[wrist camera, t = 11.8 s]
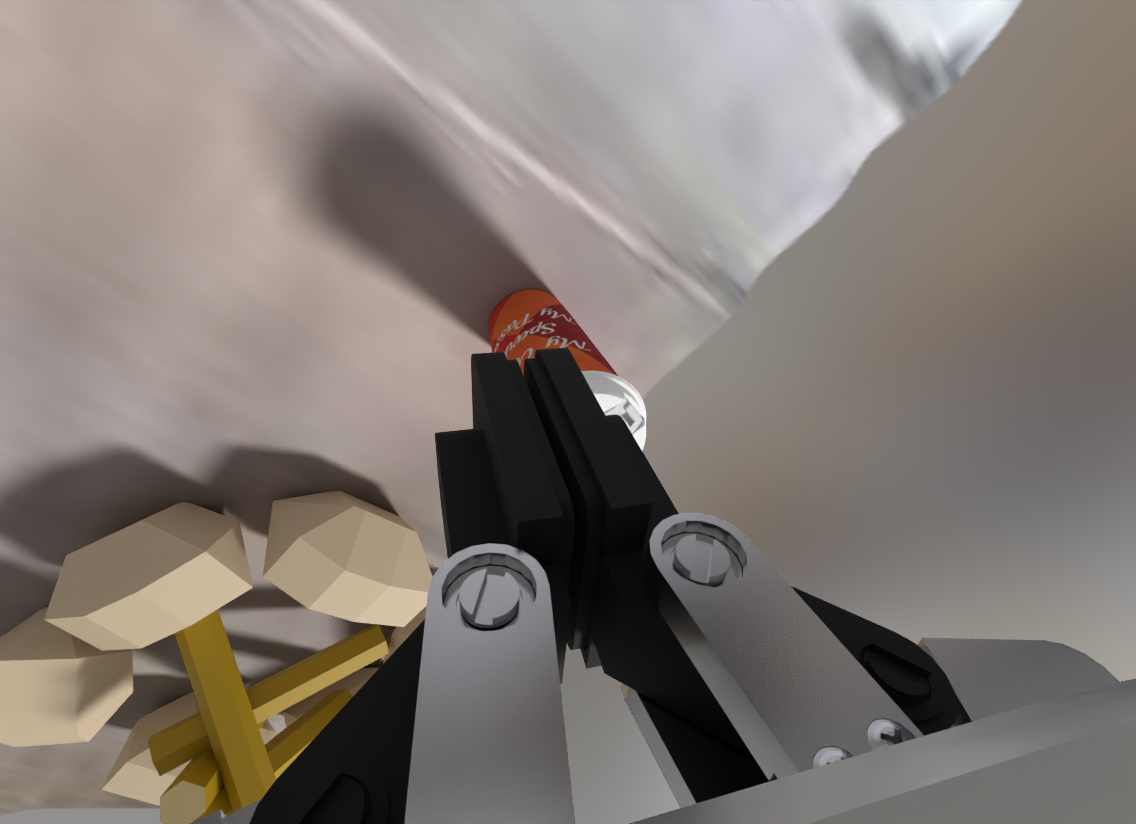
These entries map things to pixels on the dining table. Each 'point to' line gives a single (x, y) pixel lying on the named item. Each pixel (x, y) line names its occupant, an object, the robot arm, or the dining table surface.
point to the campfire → (209, 644)
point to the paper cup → (549, 325)
